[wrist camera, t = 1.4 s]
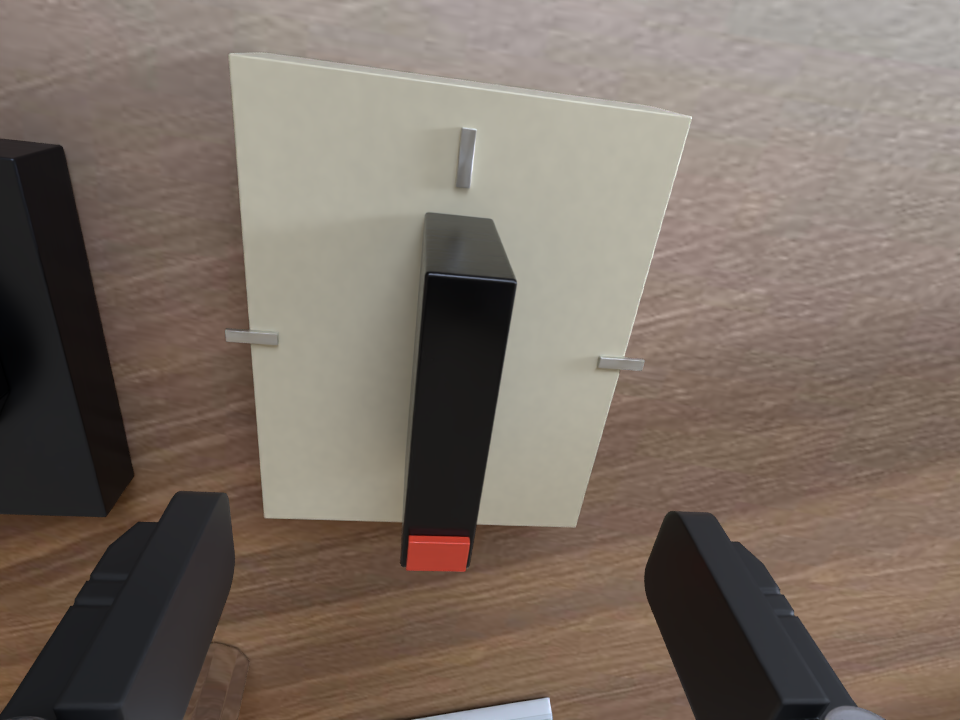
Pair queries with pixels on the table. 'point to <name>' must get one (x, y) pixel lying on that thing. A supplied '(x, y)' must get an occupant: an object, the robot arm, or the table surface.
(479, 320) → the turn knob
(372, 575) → the table surface
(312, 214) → the beige base plate
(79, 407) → the button box
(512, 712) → the hard drive
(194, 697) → the milkshake
